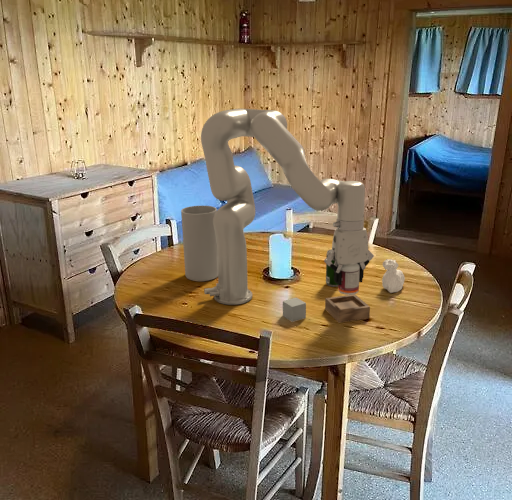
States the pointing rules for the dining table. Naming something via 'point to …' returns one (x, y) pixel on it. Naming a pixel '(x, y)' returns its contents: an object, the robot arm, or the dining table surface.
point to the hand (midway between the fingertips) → (348, 281)
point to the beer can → (330, 273)
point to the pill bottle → (349, 279)
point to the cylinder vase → (199, 243)
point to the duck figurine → (392, 276)
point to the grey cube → (294, 309)
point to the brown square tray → (347, 308)
